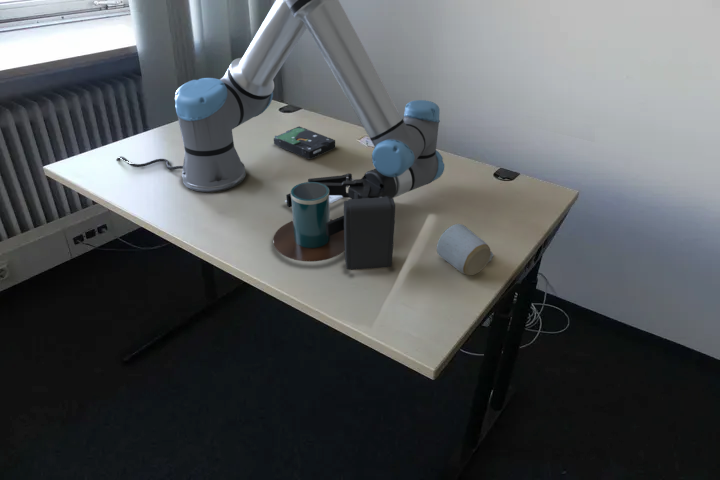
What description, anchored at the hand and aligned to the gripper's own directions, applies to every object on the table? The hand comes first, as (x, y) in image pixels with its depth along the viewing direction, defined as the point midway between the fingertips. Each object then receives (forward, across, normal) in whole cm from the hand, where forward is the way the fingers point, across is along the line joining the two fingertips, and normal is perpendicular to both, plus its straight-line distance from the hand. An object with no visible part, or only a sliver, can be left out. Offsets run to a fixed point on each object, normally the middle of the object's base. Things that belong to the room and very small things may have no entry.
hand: (306, 215), depth 102 cm
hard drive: (-11, +13, -8) cm, 19 cm away
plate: (-1, 0, -7) cm, 7 cm away
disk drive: (-27, +40, -8) cm, 49 cm away
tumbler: (-1, 0, -6) cm, 6 cm away
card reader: (-5, -14, -8) cm, 16 cm away
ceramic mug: (-21, -24, -8) cm, 33 cm away
